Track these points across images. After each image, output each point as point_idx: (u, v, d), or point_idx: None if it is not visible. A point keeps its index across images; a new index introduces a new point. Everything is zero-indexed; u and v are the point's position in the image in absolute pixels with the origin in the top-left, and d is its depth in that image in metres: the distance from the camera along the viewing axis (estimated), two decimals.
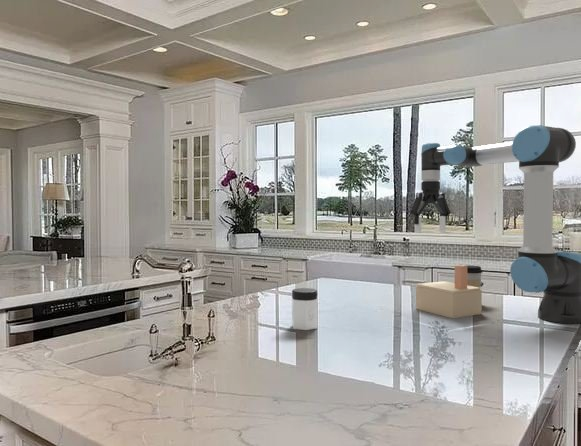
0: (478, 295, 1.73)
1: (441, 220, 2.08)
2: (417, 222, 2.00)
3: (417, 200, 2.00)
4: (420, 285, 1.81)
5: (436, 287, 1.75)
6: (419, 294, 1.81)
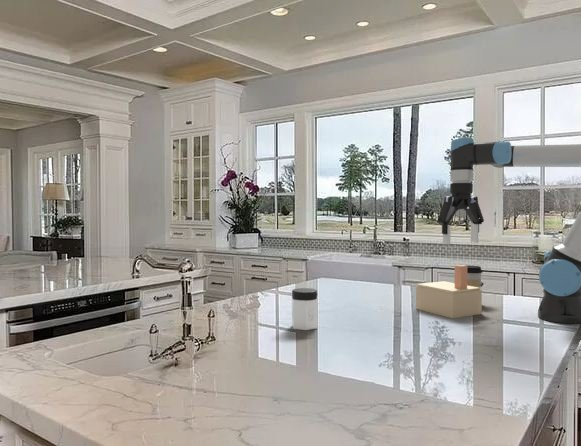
0: (478, 295, 1.73)
1: (472, 229, 1.76)
2: (446, 232, 1.68)
3: (446, 205, 1.68)
4: (420, 285, 1.81)
5: (436, 287, 1.75)
6: (419, 294, 1.81)
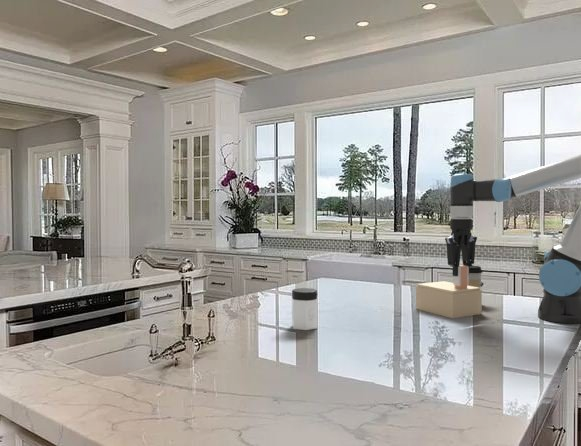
0: (478, 295, 1.73)
1: None
2: (456, 274, 1.71)
3: (450, 247, 1.69)
4: (420, 285, 1.81)
5: (436, 287, 1.75)
6: (419, 294, 1.81)
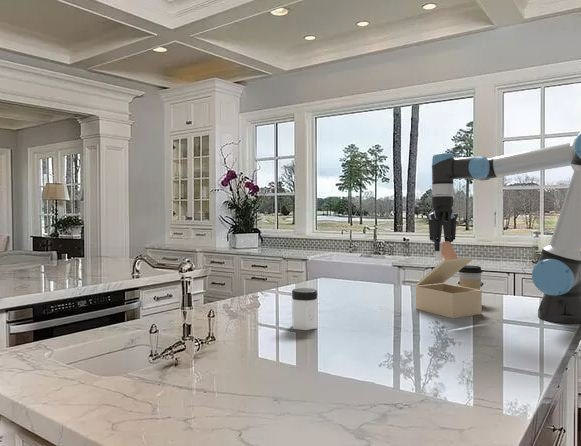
0: (478, 295, 1.73)
1: None
2: (438, 249, 1.78)
3: (432, 223, 1.77)
4: (419, 282, 1.82)
5: (431, 271, 1.77)
6: (419, 294, 1.81)
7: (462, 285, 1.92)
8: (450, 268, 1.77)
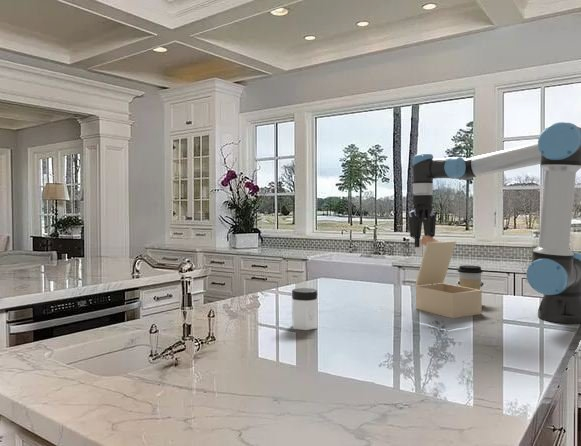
0: (478, 295, 1.73)
1: None
2: (418, 245, 1.87)
3: (412, 221, 1.86)
4: (416, 280, 1.83)
5: None
6: (419, 294, 1.81)
7: (462, 285, 1.92)
8: (439, 255, 1.82)
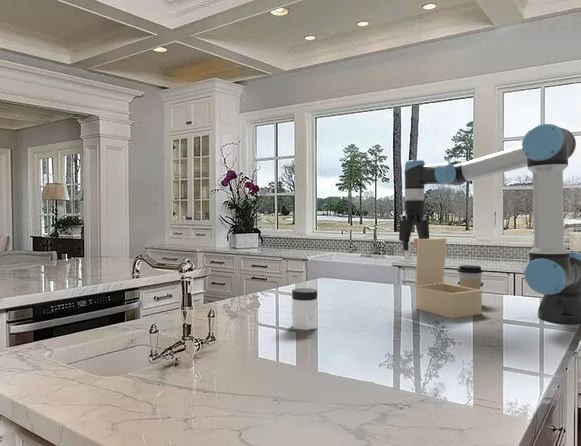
0: (478, 295, 1.73)
1: None
2: (406, 248, 1.91)
3: (402, 224, 1.90)
4: (415, 280, 1.83)
5: None
6: (419, 294, 1.81)
7: (462, 285, 1.92)
8: (433, 252, 1.85)
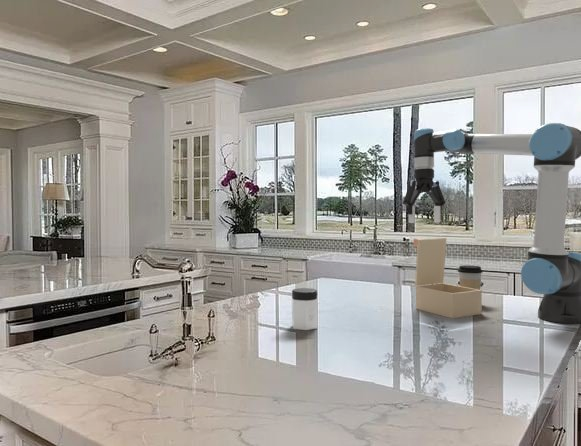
0: (478, 295, 1.73)
1: (435, 210, 1.97)
2: (411, 212, 1.89)
3: (410, 189, 1.89)
4: (415, 280, 1.83)
5: None
6: (419, 294, 1.81)
7: (462, 285, 1.92)
8: (433, 252, 1.85)
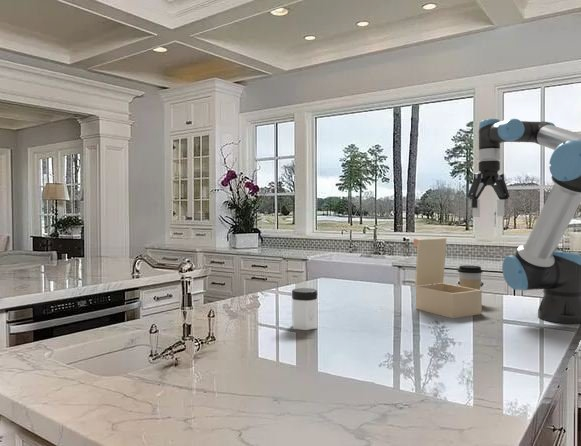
0: (478, 295, 1.73)
1: (499, 204, 1.90)
2: (475, 205, 1.83)
3: (475, 181, 1.83)
4: (415, 280, 1.83)
5: None
6: (419, 294, 1.81)
7: (462, 285, 1.92)
8: (433, 252, 1.85)
